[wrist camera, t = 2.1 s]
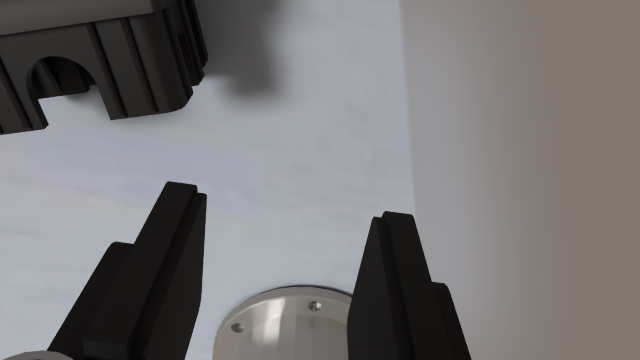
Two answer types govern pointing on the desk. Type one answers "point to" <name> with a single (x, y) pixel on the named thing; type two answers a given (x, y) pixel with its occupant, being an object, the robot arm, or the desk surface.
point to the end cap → (97, 56)
